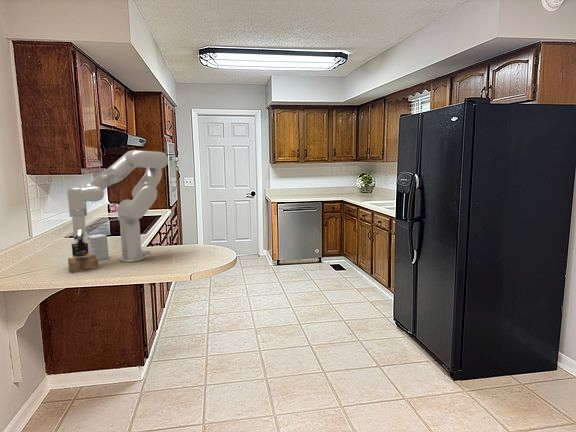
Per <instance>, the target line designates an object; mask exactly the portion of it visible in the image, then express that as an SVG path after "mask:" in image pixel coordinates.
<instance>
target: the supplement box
mask: <svg viewBox="0 0 576 432" xmlns="http://www.w3.org/2000/svg"><path fill="white" fill-rule="evenodd" d="M88 239H90V240H91V250H92V253H91V255H95V256H96V258H97V260H98V261H102V260H106V259H110V258H109V257H110V255H109V244H108V235H107V234H106V235H105V234H101V233H99V234H93V235H88ZM88 239H87V240H88Z"/></svg>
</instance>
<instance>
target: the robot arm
mask: <svg viewBox="0 0 576 432" xmlns="http://www.w3.org/2000/svg"><path fill="white" fill-rule="evenodd" d="M168 164H169V158H168V156H167V154H166V153H164V152H162V151H150V150H140V149H139V150H129V151H126V153H124V154H123V155H122V156H120V157H119V158H118V159H117V160H116V161H115V162H113V163H112V165H110V166H109V167H107V169H105V170H103V171H102V172H100V173H99V174H98V175H96V176H95V177H94V178H92V179H91V180H90V181H89V182H88V183H87V184H85V185H84V186H83V187H82V186H73V187H68V188H67V192H66V193H67V194H66V195H67V201H68V211H69V212H68V213H69V214H68V215H69V217H70V218H71V219H72V220H71V221H72V222H71V224H72V231H73V232H72V235H73V234H74V236H73V239H74V238H75V237H76V236H77V248H78V251H85V242H84V236H85V231H86V232H87V229H86V217H87V216H88V208H87V202H95V203H96V202H99V201H101V200H103V199H104V196H105V192H104V190H105V189H107V188H108V187H110V186H112V185H114V184H116V183H119V182H121V181H123V179H125V178H126V177H127V176H129V174H131V172H133V171H134V170H135V169H136V168H145V172H144V174H143V176H142V177H141V178H140V180H139V181H138V182H137V183H136V185H135V186H134V187H133V189H132V190H131V195H132V197H133V198H132V199H128V198H127V199H123V200H122V201H120V203H119V204H118V206H117V215H118V216H117V217H118V220H119V221H118V222H119V226H120V241H121V242H120V244H121V254H122V256H121V257H119V262H123V263H135V262H139V261H140V262H141V261H143V260H145V258H146V255H152V252H151V250H143V249H142V240H141V226H140V225H141V223H140V220H139V219H142V218H143V217H144V216H145V214H147V212H148V211H149V209H150V208H151V207H152V206H153V204H154V203H155V201H157V197H158V189H157V187H158V184H160V182H161V179H162V177H163V176H162V175H163V174H162V173H163V172H162V169H163V168H165V167H167V166H168ZM81 235H83V236H81ZM82 240H83V241H82Z"/></svg>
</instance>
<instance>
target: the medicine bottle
mask: <svg viewBox="0 0 576 432" xmlns="http://www.w3.org/2000/svg"><path fill="white" fill-rule="evenodd" d="M72 235H73V242H72V243H71V244H70V245H71V251H72V258H77V257H89V256H90V255H91V253H92V250H91V240H90V239H88V236H89V235H88V231H87V230H86V231H85V236H84V242H85V251H78V248H77V236H76V237H75V238H74V234H73V233H72ZM81 236H83V235H81ZM87 239H88V240H87ZM82 241H83V240H82Z"/></svg>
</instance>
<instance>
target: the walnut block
mask: <svg viewBox="0 0 576 432" xmlns="http://www.w3.org/2000/svg"><path fill="white" fill-rule="evenodd" d="M98 261H99V260H97V258H96V256H95V255H90V256H89V257H77V258H73V257H68V258H67V263H68V265H67V266H68V270H69V273H70V274H74V273H81V272H91V271H96V270H99V264H98V263H99V262H98Z"/></svg>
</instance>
